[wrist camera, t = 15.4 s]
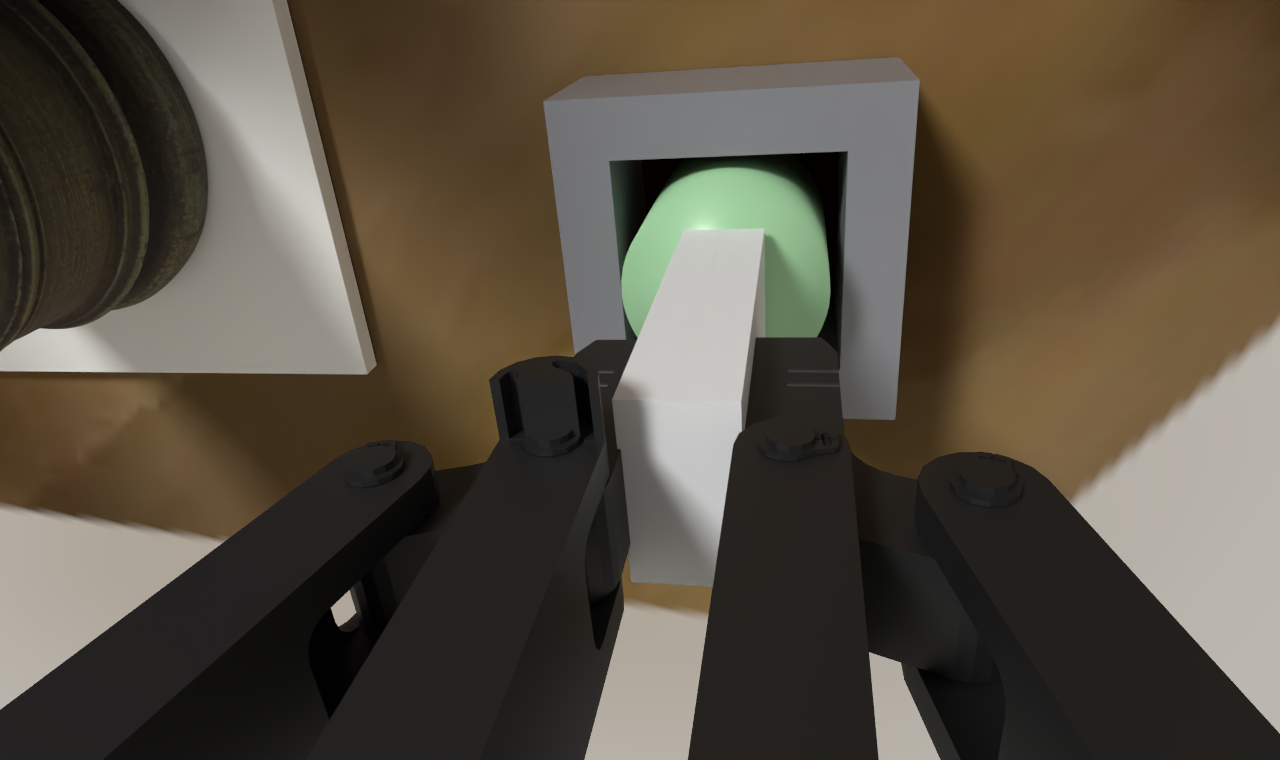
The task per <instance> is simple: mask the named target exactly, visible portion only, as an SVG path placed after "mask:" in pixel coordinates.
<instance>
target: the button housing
mask: <svg viewBox="0 0 1280 760" xmlns="http://www.w3.org/2000/svg"><path fill="white" fill-rule="evenodd" d="M919 84H920V80H919V79H918V78H917V76H916V75H915V74H914V73H913V72H912V71H911V70H910V69H909V67H908V66H907V65H906V64H905V63H904V62H903V61H902V59H901V58H900V57H891V58H874V59H858V60H842V61H825V62H809V63H792V64H776V65H760V66H743V67H727V68H710V69H694V70H677V71H661V72H645V73H628V74H612V75H595V76H584V77H582V78H580V79H579V80H577V81H576V82H574V83H572V84H571V85H569V86H567V87H566V88H564V89H562V90H561V91H559V92H557V93H556V94H554V95H552V96H551V97H549V98H547V99H546V100H544V101H543V104H544V112H545V120H546V128H547V136H548V144H549V152H550V160H551V168H552V176H553V184H554V192H555V200H556V208H557V216H558V224H559V232H560V240H561V248H562V256H563V264H564V272H565V280H566V288H567V296H568V304H569V312H570V320H571V327H572V335H573V343H574V351H575V354H576V353H578V352H579V351H580V350H582V349H583V348H585V347H586V346H588V345H589V344H591V343H592V342H594V341H595V340H637V339H638V337H637V336H636V334H635V333H634V331H633V329H632V327H631V325H630V323H629V321H628V318H627V315H626V312H625V309H624V305H623V299H622V287H621V280H622V271H623V266H624V262H625V258H626V255H627V252H628V250H629V248H630V245H631V243H632V241H633V240H634V238H635V236H636V234H637V233H638V231H639V229H640V227H641V226H642V224H643V222H644V220H645V219H646V209H645V196H644V182H643V169H642V160H644V159H669V158H693V157H718V156H742V155H766V154H791V153H815V152H839V176H838V207H837V239H836V271H835V303H834V307H829V308H828V312H827V316H826V319H825V321H824V324H823V326H822V329H821V330H820V332H819V334H818V336H817V337H822V338H823V339H824V340H825V341H826V342H827V343H828V344H829V345H830V346H831V347H832V348H833V349H834V350H835V351H836V352H837V356H838V368H839V380H840V392H841V403H842V415H843V419H875V420H895V416H896V402H897V388H898V374H899V360H900V347H901V333H902V319H903V305H904V291H905V277H906V264H907V250H908V236H909V222H910V208H911V194H912V180H913V167H914V153H915V139H916V125H917V111H918V97H919Z"/></svg>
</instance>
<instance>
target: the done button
mask: <svg viewBox="0 0 1280 760" xmlns="http://www.w3.org/2000/svg"><path fill="white" fill-rule="evenodd" d="M753 228H765V335H766V337H817V336H818V334H819V332H820V330H821V329H822V326H823V324H824V321H825V319H826V316H827V312H828V308H829V302H830V292H831V290H830V273H829V261H828V250H827V238H826V227H825V215H824V207H823V202H822V198H821V195H820V192H819V189H818V187H817V185H816V183H815V181H814V179H813V178H812V176H811V175H810V173H809V172H808V170H807V169H806V168H805V167H804V166H803V165H802V164H801V162H800V161H798V160H797V159H796V158H795V157H794V156H792V155H791V154H766V155H742V156H718V157H693V158H685V159H684V160H683V161H682V162H681V163H680V164H679V165H678V166H677V167H676V168H675V170H674V171H673V172H672V174H671V175H670V176H669V178H668V180H667V182H666V183H665V185H664V187H663V189H662V190H661V192H660V194H659V196H658V197H657V199H656V201H655V203H654V204H653V206H652V208H651V210H650V211H649V213H648V215H647V217H646V219H645V220H644V222H643V224H642V226H641V227H640V229H639V231H638V233H637V234H636V236H635V238H634V240H633V241H632V243H631V245H630V248H629V250H628V252H627V255H626V258H625V262H624V266H623V271H622V280H621V287H622V299H623V305H624V309H625V312H626V315H627V318H628V321H629V323H630V325H631V327H632V329H633V331H634V333H635V334H636V336H637V337H639V334H640V332H641V329H642V327H643V325H644V322H645V320H646V318H647V315H648V313H649V310H650V308H651V306H652V303H653V301H654V298H655V296H656V294H657V291H658V289H659V287H660V284H661V282H662V279H663V277H664V275H665V272H666V270H667V267H668V265H669V263H670V260H671V258H672V256H673V253H674V251H675V248H676V246H677V244H678V241H679V239H680V236H681V234H682V232H683V230H711V229H753Z"/></svg>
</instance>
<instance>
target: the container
mask: <svg viewBox="0 0 1280 760" xmlns="http://www.w3.org/2000/svg"><path fill="white" fill-rule="evenodd" d="M207 198H208V176H207V164H206V157H205V151H204V146H203V142H202V138H201V134H200V130H199V127H198V124H197V121H196V118H195V115H194V112H193V109H192V107H191V104H190V102H189V100H188V98H187V95H186V93H185V91H184V89H183V87H182V85H181V83H180V81H179V80H178V78H177V76H176V74H175V72H174V71H173V69H172V67H171V65H170V64H169V62H168V60H167V59H166V57H165V55H164V54H163V52H162V51H161V50H160V48H159V47H158V45H157V44H156V42H155V41H154V40H153V38H152V37H151V36H150V34H149V33H148V32H147V30H146V29H145V28H144V27H143V26H142V25H141V23H140V22H139V21H138V20H137V19H136V18H135V17H134V16H133V15H132V14H131V13H130V12H129V11H128V10H127V9H126V8H125V7H124V6H123V5H122V4H121V3H120V2H119V1H118V0H0V351H2V350H3V349H4V348H5V347H6V346H8V345H9V344H11V343H12V342H13V341H15V340H17V339H19V338H22V337H24V336H26V335H28V334H30V333H31V332H33V331H35V330H37V329H40V328H42V329H68V328H74V327H79V326H83V325H86V324H89V323H91V322H93V321H95V320H97V319H99V318H101V317H103V316H104V315H106V314H107V313H109V312H110V311H112V310H118V309H122V308H126V307H129V306H133V305H136V304H138V303H141V302H143V301H145V300H147V299H148V298H150V297H152V296H153V295H155V294H156V293H158V292H159V291H160V290H161V289H163V288H164V287H165V286H166V285H167V284H168V283H169V282H170V281H171V280H172V279H173V278H174V277H175V276H176V275H177V274H178V273H179V271H180V270H181V269H182V268H183V267H184V265H185V264H186V263H187V261H188V260H189V258H190V257H191V255H192V253H193V252H194V250H195V248H196V246H197V243H198V241H199V239H200V236H201V234H202V231H203V227H204V223H205V218H206V211H207Z"/></svg>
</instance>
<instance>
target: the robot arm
mask: <svg viewBox="0 0 1280 760" xmlns="http://www.w3.org/2000/svg"><path fill="white" fill-rule="evenodd" d="M489 381H490V387H491V393H492V398H493V404H494V409H495V415H496V420H497V426H498V431H499V437H500V440H499V442H498V443H497V445H496V447H495V448H494V450H493V452H492V453H491V455H490V457H489V458H488V460H487V462H484V463H480V464H475V465H471V466H465V467H458V468H452V469H446V470H440V471H435V468H434V464H433V459H432V455H431V454H430V453H429V452H428V450H427V449H426V448H425V447H424V446H421V445H419V444H416V443H413V442H410V441H393V440H386V441H381V442H379V441H377V442H372V443H368V444H366V445H364V446H363V447H360V448H357V449H354V450H351V451H349V452H347V453H345V454H344V455H342V456H340V457H338V458H337V459H335V460H333V461H332V462H330V463H329V464H328V465H326V466H325V467H324V468H322V469H321V470H320V471H318V472H317V473H316V474H314V475H313V476H312V477H310V478H309V479H308V480H306V481H305V482H304V483H302V484H301V485H300V486H298V487H297V488H296V489H294V490H293V491H292V492H290V493H289V494H288V495H286V496H285V497H284V498H282V499H281V500H280V501H278V502H277V503H276V504H274V505H273V506H272V507H270V508H269V509H268V510H266V511H265V512H264V513H262V514H261V515H260V516H258V517H257V518H256V519H254V520H253V521H252V522H250V523H249V524H248V525H246V526H245V527H244V528H242V529H241V530H240V531H238V532H237V533H236V534H234V535H233V536H232V537H230V538H229V539H228V540H226V541H225V542H224V543H222V544H221V545H220V546H218V547H217V548H216V549H214V550H213V551H212V552H210V553H209V554H208V555H206V556H205V557H204V558H202V559H201V560H200V561H198V562H197V563H196V564H194V565H193V566H192V567H190V568H189V569H188V570H186V571H185V572H184V573H182V574H181V575H180V576H179V577H177V578H176V579H174V580H173V581H172V582H170V583H169V584H168V585H166V586H165V587H164V588H162V589H161V590H160V591H158V592H157V593H156V594H154V595H153V596H152V597H150V598H149V599H148V600H146V601H145V602H144V603H142V604H141V605H140V606H139V607H137V608H136V609H134V610H133V611H132V612H130V613H129V614H128V615H126V616H125V617H124V618H122V619H121V620H120V621H118V622H117V623H116V624H114V625H113V626H112V627H110V628H109V629H108V630H106V631H105V632H104V633H102V634H101V635H100V636H98V637H97V638H96V639H94V640H93V641H92V642H90V643H89V644H88V645H86V646H85V647H84V648H82V649H81V650H80V651H78V652H77V653H76V654H74V655H73V656H72V657H70V658H69V659H68V660H66V661H65V662H64V663H62V664H61V665H60V666H58V667H57V668H56V669H54V670H53V671H52V672H50V673H49V674H48V675H46V676H45V677H44V678H43V679H41V680H40V681H38V682H37V683H36V684H34V685H33V686H32V687H30V688H29V689H28V690H26V691H25V692H24V693H22V694H21V695H20V696H18V697H17V698H16V699H14V700H13V701H11V702H10V703H9V704H7V705H6V706H5V707H3V708H2V709H1V710H0V760H584V758H585V754H586V751H587V747H588V743H589V739H590V736H591V732H592V728H593V724H594V721H595V717H596V713H597V709H598V705H599V702H600V698H601V694H602V690H603V687H604V683H605V679H606V675H607V671H608V667H609V664H610V660H611V656H612V653H613V649H614V645H615V641H616V638H617V633H618V630H619V626H620V622H621V619H622V614H623V611H624V596H623V587H622V578H621V575H622V571H623V568H624V564H625V561H626V557H627V554H628V556H629V565H630V575H631V582H638V583H656V584H673V585H691V586H708V587H713V589H712V596H711V603H710V610H709V617H708V624H707V631H706V638H705V644H704V651H703V659H702V665H701V672H700V680H699V686H698V694H697V700H696V701H697V702H696V707H695V714H694V721H693V728H692V735H691V742H690V749H689V757H688V760H878V750H877V739H876V728H875V716H874V705H873V694H872V682H871V671H870V661H869V652H871V653H874V654H877V655H880V656H883V657H886V658H889V659H892V660H895V661H899V662H901V664H902V670H903V675H904V680H905V682H906V684H907V686H908V689H909V691H910V693H911V695H912V697H913V700H914V702H915V704H916V706H917V708H918V711H919V713H920V715H921V717H922V720H923V722H924V724H925V726H926V728H927V731H928V733H929V735H930V737H931V739H932V741H933V744H934V746H935V748H936V750H937V753H938V755H939V757H940V759H941V760H1280V734H1279V733H1278V731H1277V730H1276V729H1275V728H1274V727H1273V726H1272V725H1271V724H1270V723H1269V721H1268V720H1267V719H1266V718H1265V717H1264V716H1263V715H1262V714H1261V713H1260V712H1259V710H1257V708H1256V707H1255V706H1254V705H1253V704H1252V703H1251V702H1250V701H1249V700H1248V699H1247V697H1246V696H1245V695H1244V694H1243V693H1242V692H1241V691H1240V690H1239V688H1238V687H1237V686H1236V685H1235V684H1234V683H1233V682H1232V681H1231V680H1230V679H1229V677H1228V676H1226V674H1225V673H1224V672H1223V671H1222V670H1221V669H1220V668H1219V666H1218V665H1217V664H1216V663H1215V662H1214V661H1213V660H1212V659H1211V658H1210V657H1209V656H1208V654H1207V653H1206V652H1205V651H1204V650H1203V649H1202V648H1201V647H1200V646H1199V645H1198V643H1197V642H1196V641H1195V640H1194V639H1193V638H1192V637H1191V636H1190V635H1189V634H1188V633H1187V631H1186V630H1185V629H1184V628H1183V627H1182V626H1181V625H1180V624H1179V622H1177V620H1176V619H1175V618H1174V617H1173V616H1172V615H1171V614H1170V613H1169V611H1167V609H1166V608H1165V607H1164V606H1163V605H1162V604H1161V603H1160V602H1159V601H1158V599H1157V598H1156V597H1155V596H1154V595H1153V594H1152V593H1151V592H1150V591H1149V590H1148V589H1147V587H1146V586H1145V585H1144V584H1143V583H1142V582H1141V581H1140V580H1139V578H1137V576H1136V575H1135V574H1134V573H1133V572H1132V571H1131V570H1130V569H1129V567H1128V566H1127V565H1126V564H1125V563H1124V562H1123V561H1122V560H1121V559H1120V558H1119V557H1118V555H1117V554H1116V553H1115V552H1114V551H1113V550H1112V549H1111V548H1110V547H1109V545H1108V544H1107V543H1105V541H1104V540H1103V539H1102V538H1101V537H1100V536H1099V534H1098V533H1097V532H1096V531H1095V530H1094V529H1093V528H1092V527H1091V526H1090V525H1089V524H1088V522H1087V521H1086V520H1085V519H1084V518H1083V517H1082V516H1081V515H1080V514H1079V512H1077V510H1076V509H1075V508H1074V507H1073V506H1072V505H1071V504H1070V503H1069V501H1068V500H1067V499H1066V498H1065V497H1064V496H1063V495H1062V494H1061V493H1060V492H1059V490H1058V489H1057V488H1056V487H1055V486H1054V485H1053V484H1052V483H1051V482H1050V481H1049V480H1048V479H1047V478H1046V477H1044V476H1043V475H1042V474H1041V473H1039V472H1038V471H1037V470H1035V469H1034V468H1033V467H1031V466H1028V465H1026V464H1024V463H1021V462H1019V461H1016V460H1014V459H1012V458H1009V457H1006V456H1002V455H998V454H995V455H994V454H992V453H985V452H959V453H954V454H950V455H945V456H941V457H938V458H936V459H934V460H933V461H931V462H930V463H928V464H926V465H925V466H923V469H922V471H921V473H920V475H919V477H918V480H915V479H910V478H905V477H901V476H897V475H893V474H890V473H886V472H883V471H880V470H878V469H876V468H874V467H871V466H869V465H867V464H865V463H864V462H862V461H861V460H860V459H858V458H857V457H856V456H854V455H853V453H852V452H851V450H850V446H849V444H848V441H847V439H846V437H845V436H844V427H843V415H842V403H841V392H840V380H839V368H838V356H837V352H836V351H835V350H834V349H833V348H832V347H831V346H830V345H829V344H828V343H827V342H826V341H825V340H824V339H823V338H822V337H766V335H765V228H753V229H711V230H683V232H682V234H681V236H680V239H679V241H678V244H677V246H676V248H675V251H674V253H673V256H672V258H671V260H670V263H669V265H668V267H667V270H666V272H665V275H664V277H663V279H662V282H661V284H660V287H659V289H658V291H657V294H656V296H655V298H654V301H653V303H652V306H651V308H650V310H649V313H648V315H647V318H646V320H645V322H644V325H643V327H642V329H641V332H640V334H639V337H638V339H637V340H595V341H594V342H592V343H591V344H589V345H588V346H586V347H585V348H583V349H582V350H580V351H579V352H578V353H576V354H575V356H574V357H565V356H548V357H536V358H532V359H528V360H524V361H520V362H516V363H514V364H512V365H510V366H508V367H506V368H504V369H501V370H500V371H498V372H497V373H496V374H495V375H494V376H493V377H492V378H491V379H489ZM348 590H350V592H351V596H352V599H353V602H354V606H355V609H356V612H357V613H356V614H355V615H354V616H353V617H352V618H351V619H350V620H348V621H347V622H346V623H344V624H343V625H341V626H339V627H338V626H337V624H336V623H335V620H334V617H333V614H332V611H331V607H332V606H333V605H334V604H335V603H336V602H337V601H338V600H339V599H340V598H341V597H342V596H343V595H344V594H345V593H346V592H347V591H348Z"/></svg>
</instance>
